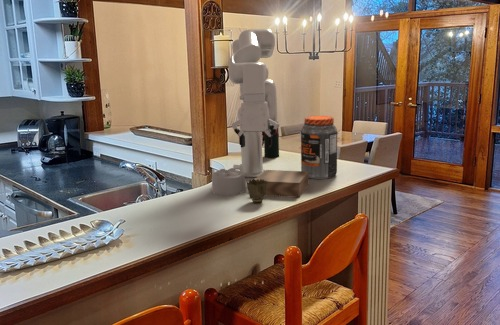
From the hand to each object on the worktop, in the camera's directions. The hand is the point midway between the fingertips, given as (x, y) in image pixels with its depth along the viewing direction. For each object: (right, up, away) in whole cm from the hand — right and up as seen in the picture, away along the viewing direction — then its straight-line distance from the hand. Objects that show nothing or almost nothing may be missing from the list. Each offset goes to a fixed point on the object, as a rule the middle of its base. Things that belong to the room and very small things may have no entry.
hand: (255, 147), depth 163 cm
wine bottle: (+9, -2, +83) cm, 84 cm away
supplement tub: (+29, -11, +40) cm, 51 cm away
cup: (+1, -20, +5) cm, 21 cm away
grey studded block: (-11, -17, +21) cm, 29 cm away
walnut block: (+11, -17, +20) cm, 28 cm away
